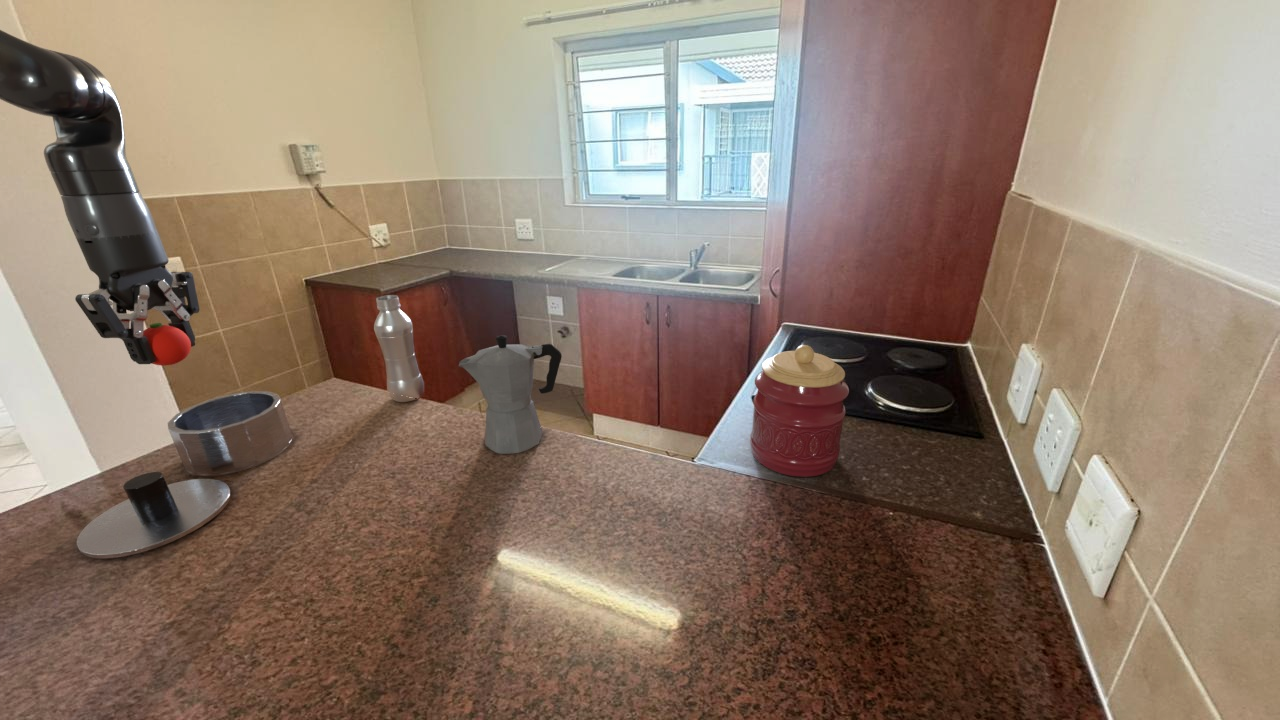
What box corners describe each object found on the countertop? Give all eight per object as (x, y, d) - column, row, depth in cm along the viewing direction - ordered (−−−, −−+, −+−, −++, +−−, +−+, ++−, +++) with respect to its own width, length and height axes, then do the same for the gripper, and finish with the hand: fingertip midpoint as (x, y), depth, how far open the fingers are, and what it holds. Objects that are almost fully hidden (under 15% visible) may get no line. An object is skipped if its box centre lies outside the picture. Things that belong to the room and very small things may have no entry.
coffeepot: (475, 464, 75) (456, 352, 68) (469, 434, 83) (453, 332, 76) (574, 442, 80) (566, 337, 74) (560, 416, 89) (552, 319, 82)
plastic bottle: (415, 388, 101) (395, 291, 93) (433, 397, 97) (414, 296, 89) (383, 399, 96) (359, 298, 88) (400, 409, 92) (377, 304, 84)
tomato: (133, 371, 68) (115, 330, 66) (170, 356, 73) (154, 318, 71) (172, 371, 68) (155, 330, 65) (207, 356, 73) (192, 317, 71)
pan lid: (43, 561, 58) (17, 518, 56) (159, 485, 72) (142, 448, 69) (164, 563, 57) (143, 520, 55) (258, 486, 71) (244, 448, 69)
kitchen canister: (845, 483, 69) (865, 366, 63) (750, 474, 72) (759, 360, 65) (830, 435, 81) (845, 332, 75) (748, 429, 83) (756, 329, 77)
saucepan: (161, 477, 73) (141, 432, 71) (234, 430, 86) (219, 390, 83) (251, 478, 73) (234, 433, 70) (311, 430, 85) (299, 391, 83)
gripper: (143, 224, 70) (187, 337, 77) (22, 240, 57) (87, 376, 63) (194, 223, 70) (234, 337, 76) (84, 239, 57) (143, 375, 63)
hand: (167, 354), depth 70 cm, fingers closed on tomato, 5 cm apart
